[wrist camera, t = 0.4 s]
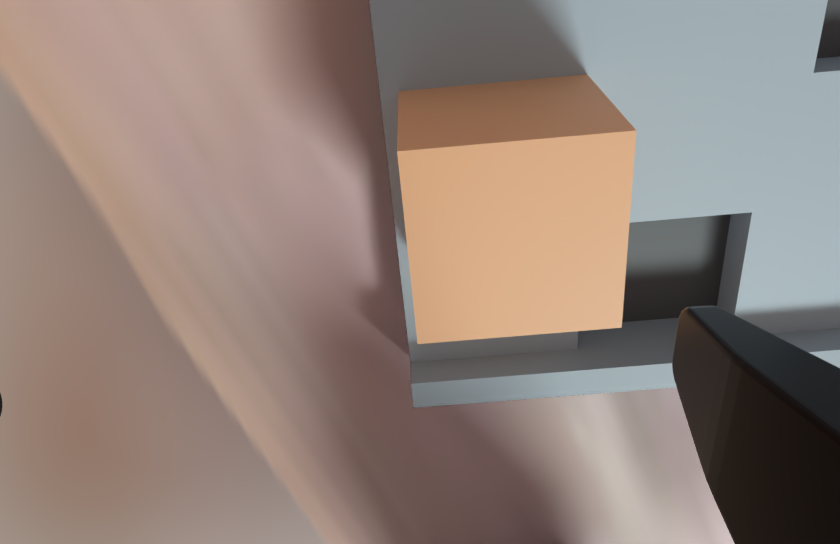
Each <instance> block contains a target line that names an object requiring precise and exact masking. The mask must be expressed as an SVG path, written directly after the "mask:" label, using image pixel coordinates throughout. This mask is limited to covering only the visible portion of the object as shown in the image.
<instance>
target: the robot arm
mask: <svg viewBox="0 0 840 544" xmlns="http://www.w3.org/2000/svg"><path fill="white" fill-rule="evenodd" d="M672 369H673V376H674V380H675V383H676V386H677V390H678V393H679V396H680V399H681V402H682V405H683V409H684V412H685V415H686V418H687V421H688V425H689V428H690V431H691V434H692V437H693V440H694V444H695V447H696V450H697V453H698V456H699V459H700V463H701V465H702V468H703V471H704V474H705V477H706V480H707V482H708V485H709V487H710V490H711V492H712V494H713V497H714V499H715V501H716V503H717V506H718V508H719V510H720V512H721V514H722V517H723V519H724V521H725V523H726V525H727V528H728V530H729V532H730V534H731V536H732V539H733V541H734V543H735V544H840V368H839V367H837V366H835V365H833V364H831V363H829V362H827V361H825V360H823V359H821V358H819V357H817V356H815V355H813V354H811V353H809V352H807V351H805V350H803V349H801V348H799V347H797V346H795V345H793V344H791V343H789V342H787V341H785V340H783V339H781V338H779V337H777V336H775V335H773V334H771V333H769V332H767V331H765V330H763V329H761V328H759V327H757V326H755V325H753V324H751V323H750V322H748V321H746V320H744V319H742V318H740V317H738V316H736V315H734V314H732V313H730V312H728V311H726V310H724V309H722V308H720V307H718V306H695V307H686V308H685V309H683V310H682V311H681V314H680V316H679V320H678V327H677V333H676V340H675V346H674V353H673V360H672ZM1 412H2V397H1V394H0V416H1Z"/></svg>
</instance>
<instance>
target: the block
mask: <svg viewBox="0 0 840 544" xmlns="http://www.w3.org/2000/svg"><path fill="white" fill-rule="evenodd" d="M635 143H636V129H635V128H634V127H633V126H632V125H631V124H630V123H629V121H628V120H627V119H626V118H625V117H624V116H623V115H622V113H621V112H620V111H619V110H618V109H617V108H616V107H615V105H614V104H613V103H612V102H611V101H610V100H609V99H608V97H607V96H606V95H605V94H604V93H603V92H602V91H601V89H600V88H599V87H598V86H597V85H596V84H595V83H594V81H593V80H592V79H591V78H590V77H589V76H588V75H587V74H585V75H574V76H563V77H552V78H540V79H529V80H518V81H507V82H496V83H485V84H474V85H462V86H451V87H440V88H429V89H418V90H407V91H398V130H397V156H398V165H399V175H400V184H401V193H402V203H403V212H404V222H405V231H406V240H407V250H408V259H409V269H410V278H411V287H412V297H413V306H414V316H415V325H416V334H417V344H426V343H438V342H450V341H463V340H475V339H487V338H500V337H512V336H525V335H537V334H549V333H562V332H574V331H586V330H599V329H611V328H622V318H623V304H624V291H625V277H626V264H627V251H628V237H629V224H630V210H631V197H632V183H633V170H634V157H635Z"/></svg>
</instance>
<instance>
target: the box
mask: <svg viewBox="0 0 840 544" xmlns="http://www.w3.org/2000/svg"><path fill="white" fill-rule="evenodd" d="M369 5H370V14H371V22H372V31H373V40H374V48H375V57H376V66H377V75H378V83H379V92H380V101H381V110H382V118H383V127H384V136H385V145H386V153H387V162H388V171H389V180H390V188H391V197H392V206H393V214H394V223H395V232H396V241H397V249H398V258H399V267H400V276H401V284H402V293H403V302H404V311H405V319H406V328H407V337H408V346H409V354H410V366H411V390H412V399H413V408H420V407H432V406H445V405H458V404H471V403H483V402H496V401H509V400H521V399H534V398H547V397H560V396H572V395H585V394H598V393H610V392H623V391H636V390H649V389H661V388H674V387H677V386H676V383H675V380H674V376H673V369H672V360H673V353H674V346H675V340H676V333H677V327H678V320H679V316H680V314H681V311H682V310H683V309H685V308H686V307H695V306H718V307H720V308H722V309H724V310H726V311H728V312H730V313H732V314H734V315H736V316H738V317H740V318H742V319H744V320H746V321H748V322H750V323H751V324H753V325H755V326H757V327H759V328H761V329H763V330H765V331H767V332H769V333H771V334H773V335H775V336H777V337H779V338H781V339H783V340H785V341H787V342H789V343H791V344H793V345H795V346H797V347H799V348H801V349H803V350H805V351H807V352H809V353H811V354H813V355H815V356H817V357H819V358H821V359H823V360H825V361H827V362H829V363H831V364H833V365H835V366H837V367H839V368H840V0H369ZM585 74H587V75H588V76H589V77H590V78H591V79H592V80H593V81H594V83H595V84H596V85H597V86H598V87H599V88H600V89H601V91H602V92H603V93H604V94H605V95H606V96H607V97H608V99H609V100H610V101H611V102H612V103H613V104H614V105H615V107H616V108H617V109H618V110H619V111H620V112H621V113H622V115H623V116H624V117H625V118H626V119H627V120H628V121H629V123H630V124H631V125H632V126H633V127H634V128H635V129H636V143H635V157H634V170H633V183H632V197H631V210H630V224H629V237H628V251H627V264H626V277H625V291H624V304H623V318H622V328H611V329H599V330H586V331H574V332H562V333H549V334H537V335H525V336H512V337H500V338H487V339H475V340H463V341H450V342H438V343H426V344H417V334H416V325H415V316H414V306H413V297H412V287H411V278H410V269H409V259H408V250H407V240H406V231H405V222H404V212H403V203H402V193H401V184H400V175H399V165H398V156H397V130H398V91H407V90H418V89H429V88H440V87H451V86H462V85H474V84H485V83H496V82H507V81H518V80H529V79H540V78H552V77H563V76H574V75H585Z"/></svg>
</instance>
